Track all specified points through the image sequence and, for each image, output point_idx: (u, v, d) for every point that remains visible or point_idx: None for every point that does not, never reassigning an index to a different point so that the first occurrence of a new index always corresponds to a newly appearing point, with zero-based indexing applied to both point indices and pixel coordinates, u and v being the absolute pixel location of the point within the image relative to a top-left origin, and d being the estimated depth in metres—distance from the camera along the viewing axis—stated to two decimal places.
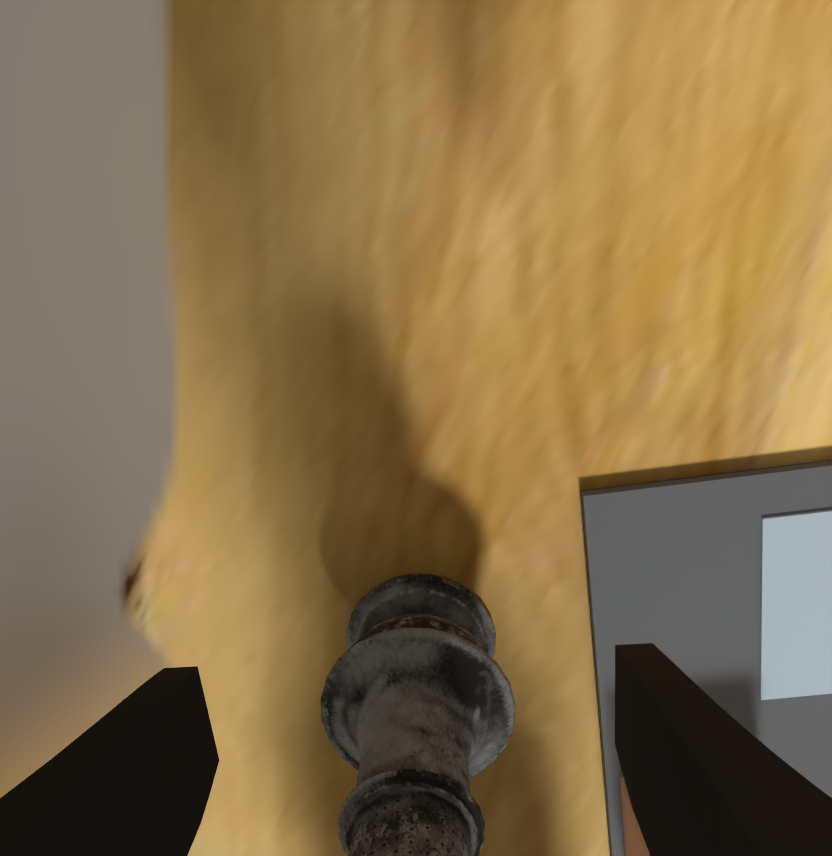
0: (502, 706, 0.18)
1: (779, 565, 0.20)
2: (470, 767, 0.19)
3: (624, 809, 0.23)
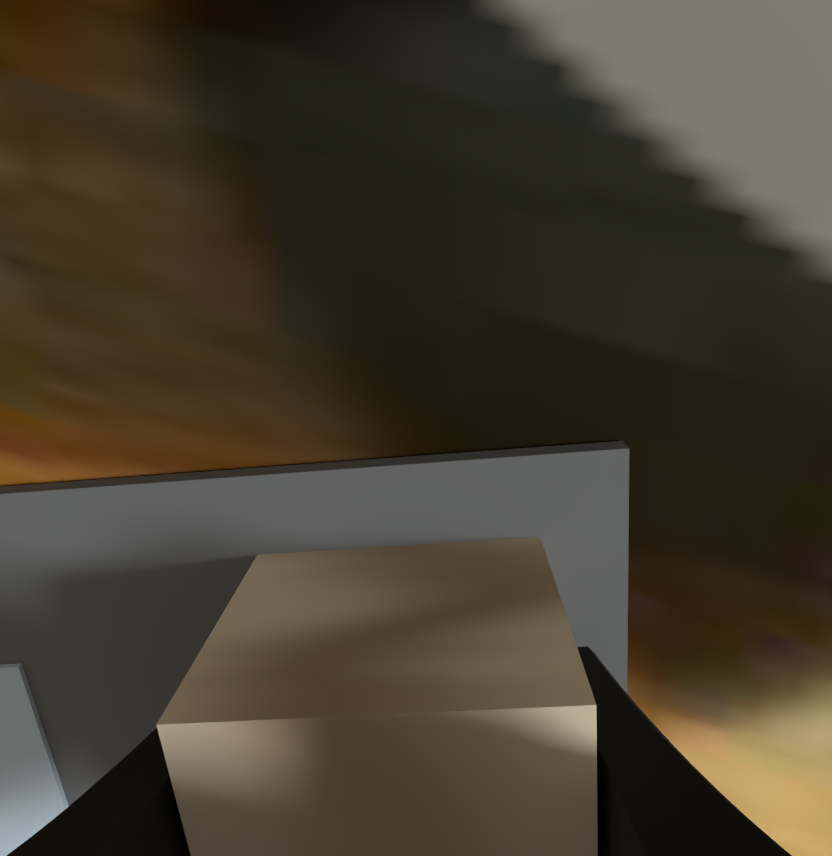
0: None
1: None
2: None
3: None
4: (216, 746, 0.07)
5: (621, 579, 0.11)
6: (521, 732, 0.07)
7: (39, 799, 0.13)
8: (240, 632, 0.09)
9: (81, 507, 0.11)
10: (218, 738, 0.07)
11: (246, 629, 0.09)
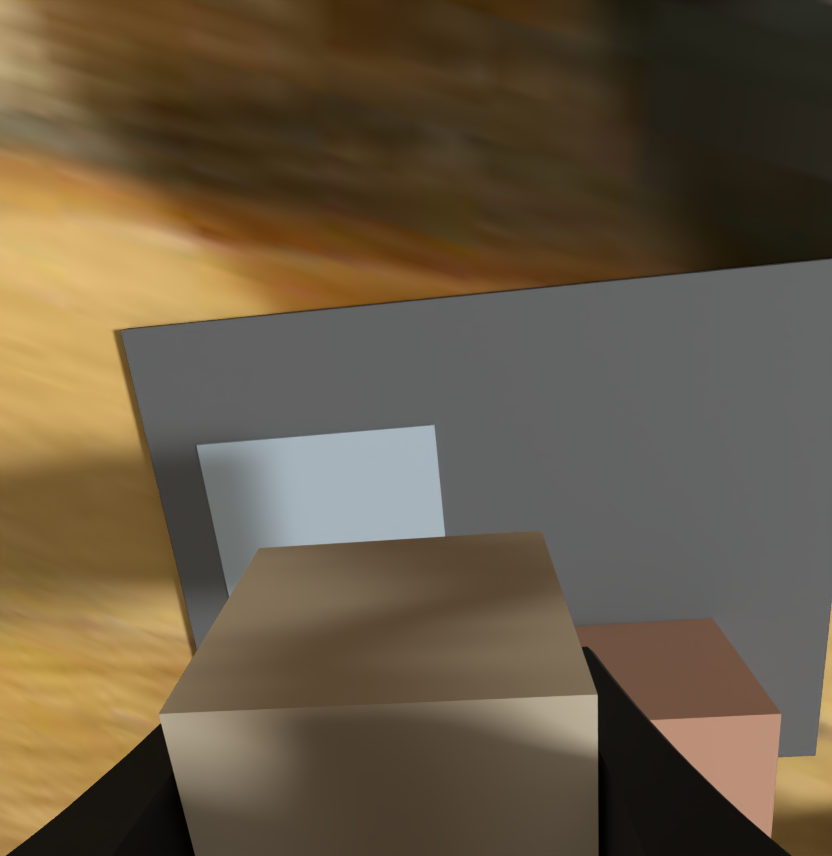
0: None
1: None
2: None
3: None
4: (217, 737, 0.07)
5: None
6: (521, 722, 0.07)
7: (428, 529, 0.18)
8: (242, 624, 0.09)
9: (498, 306, 0.16)
10: (220, 727, 0.07)
11: (248, 621, 0.09)
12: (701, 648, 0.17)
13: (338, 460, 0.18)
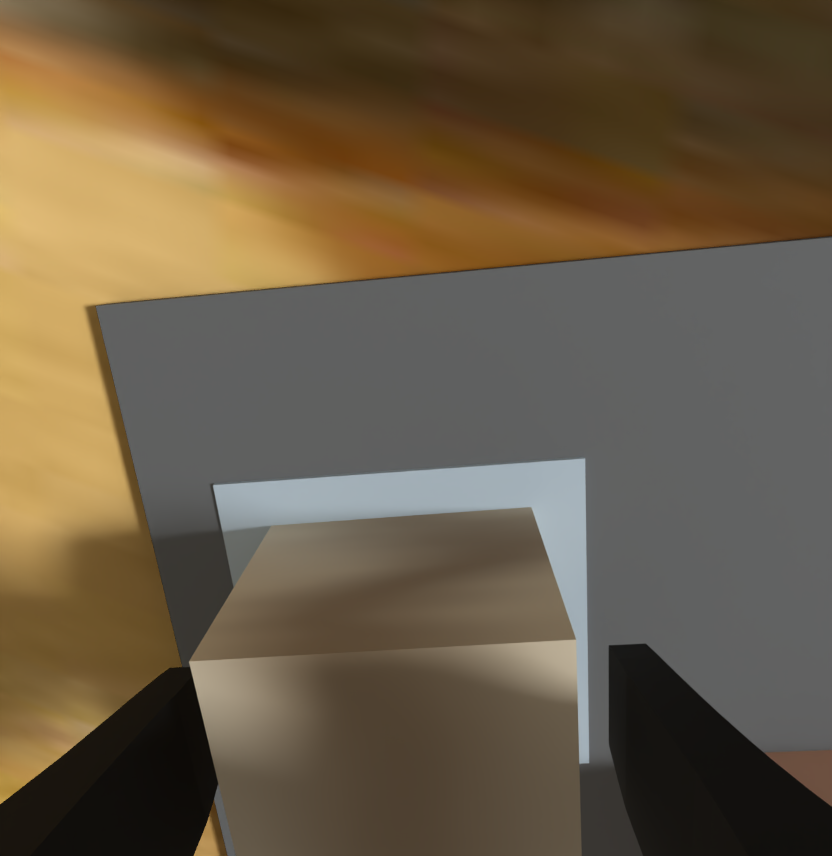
0: None
1: None
2: None
3: None
4: (242, 680, 0.08)
5: None
6: (510, 665, 0.08)
7: None
8: (259, 589, 0.10)
9: (703, 271, 0.10)
10: (243, 673, 0.08)
11: (264, 586, 0.10)
12: None
13: (431, 510, 0.12)
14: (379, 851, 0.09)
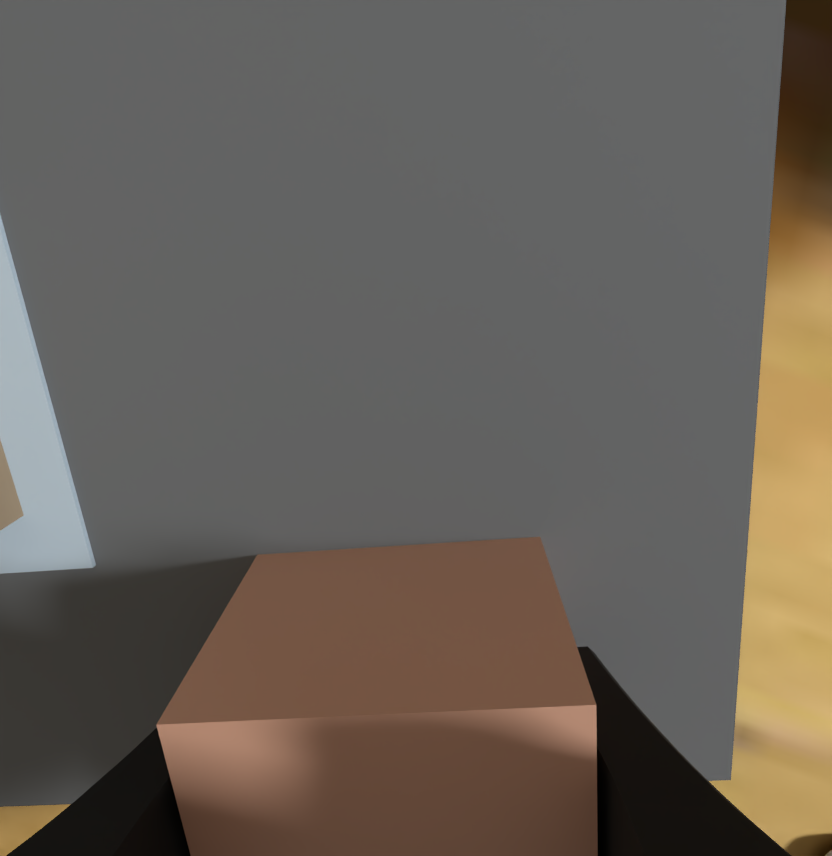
0: None
1: None
2: None
3: None
4: None
5: None
6: None
7: (7, 364, 0.10)
8: None
9: None
10: None
11: None
12: (495, 582, 0.09)
13: None
14: None
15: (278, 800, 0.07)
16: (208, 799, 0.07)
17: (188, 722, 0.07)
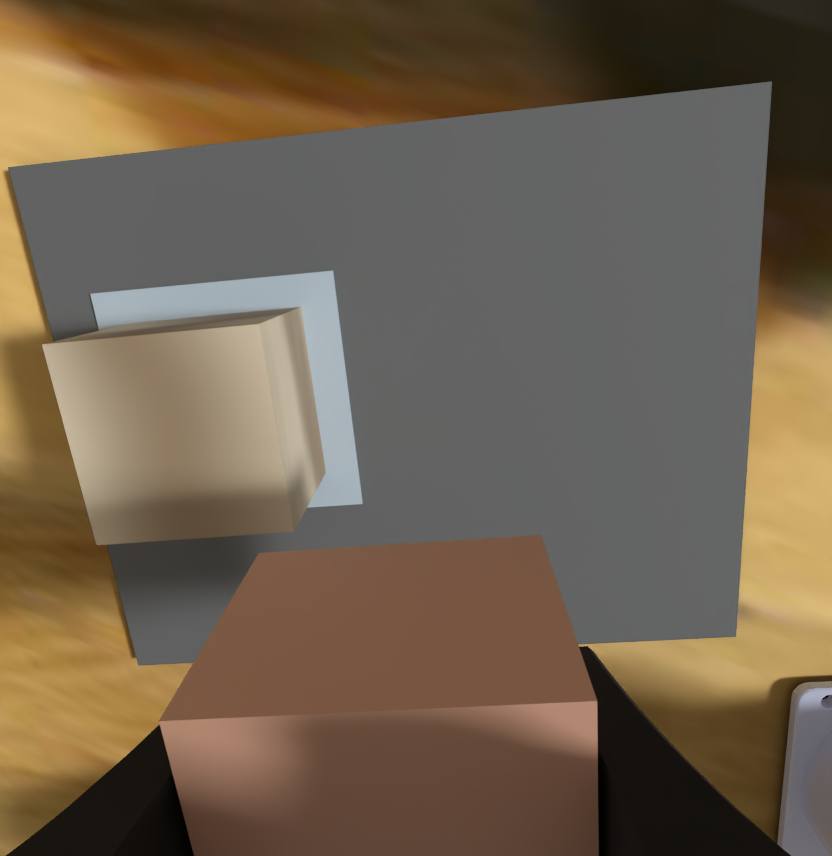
0: None
1: None
2: None
3: None
4: (73, 357, 0.14)
5: (760, 186, 0.16)
6: (224, 342, 0.13)
7: (330, 386, 0.18)
8: (101, 332, 0.15)
9: (393, 139, 0.16)
10: (73, 352, 0.14)
11: (105, 332, 0.15)
12: (496, 580, 0.09)
13: (236, 310, 0.17)
14: (165, 477, 0.14)
15: (280, 797, 0.07)
16: (210, 796, 0.07)
17: (191, 718, 0.07)
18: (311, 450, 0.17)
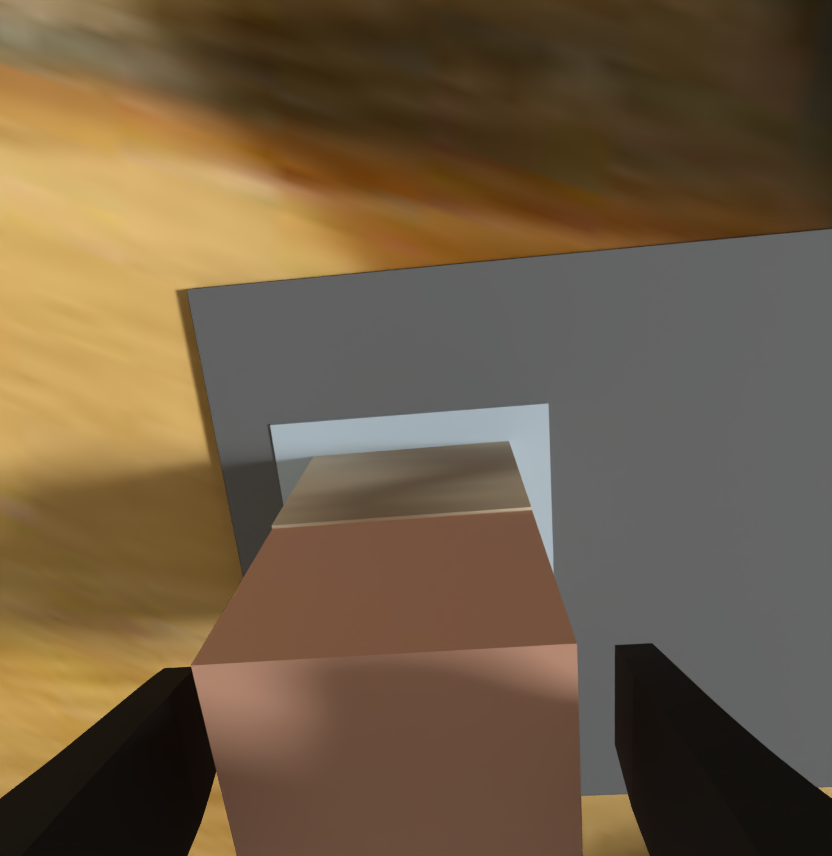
0: None
1: None
2: None
3: None
4: None
5: None
6: None
7: None
8: (311, 490, 0.13)
9: (632, 264, 0.14)
10: None
11: (315, 488, 0.13)
12: (490, 548, 0.10)
13: (434, 444, 0.15)
14: None
15: (298, 733, 0.08)
16: (235, 733, 0.08)
17: (219, 663, 0.08)
18: None
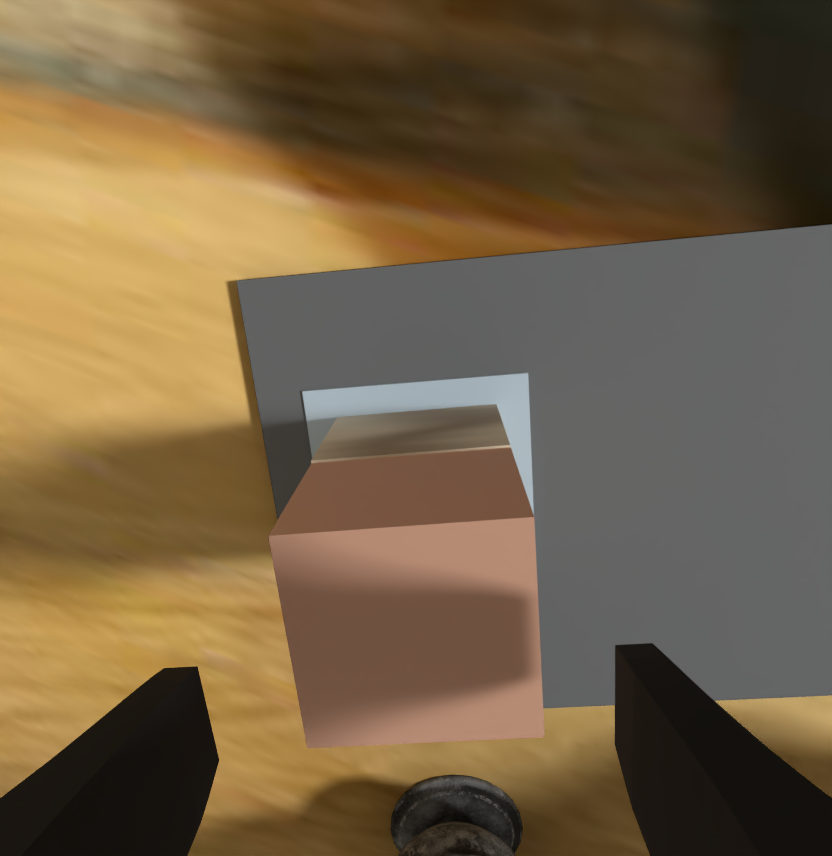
0: None
1: None
2: None
3: None
4: None
5: None
6: None
7: None
8: (339, 438, 0.17)
9: (594, 260, 0.17)
10: None
11: (341, 437, 0.17)
12: (477, 470, 0.14)
13: (435, 406, 0.19)
14: None
15: (341, 586, 0.12)
16: (297, 587, 0.12)
17: (287, 535, 0.12)
18: None
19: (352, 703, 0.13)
